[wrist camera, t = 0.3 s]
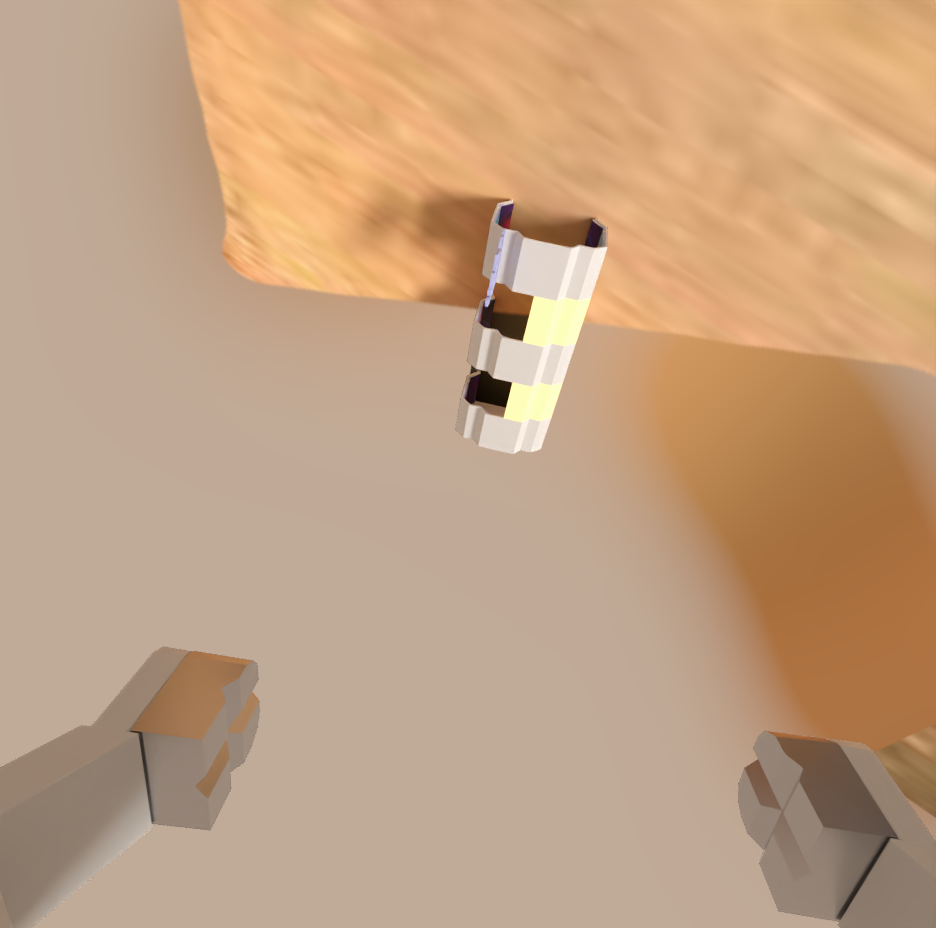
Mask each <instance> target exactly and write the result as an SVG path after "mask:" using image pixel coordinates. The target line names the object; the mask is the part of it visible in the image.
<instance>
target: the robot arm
mask: <svg viewBox="0 0 936 928" xmlns="http://www.w3.org/2000/svg"><path fill="white" fill-rule="evenodd" d="M257 681H258V666H257V663H256V662H254V661H252V660H246V659H240V658H234V657H228V656H221V655H216V654H210V653H204V652H198V651H187V650H181V649H175V648H169V647H162V648H160V649H158V650H156V651H155V652H153V653H152V654H151V656H150V657H149V658H148V659H147V660H146V662H145V663H144V664H143V665H142V666H141V667H140V669H139V670H138V671H137V672H136V673H135V675H134V676H133V677H132V678H131V680H130V681H129V682H128V683H127V684H126V685H125V687H124V688H123V689H122V690H121V691H120V693H119V694H118V695H117V696H116V697H115V699H114V700H113V701H112V702H111V703H110V704H109V706H108V707H107V708H106V709H105V711H104V712H103V713H102V714H101V715H100V716H99V718H98V719H97V720H96V721H95V722H94V724H93V725H92V726H82V725H81V726H79V727H77V728H75V729H73V730H71V731H69V732H67V733H65V734H64V735H62V736H60V737H58V738H56V739H54V740H52V741H50V742H48V743H46V744H44V745H43V746H40V747H39V748H37V749H35V750H33V751H31V752H29V753H27V754H25V755H23V756H21V757H19V758H17V759H15V760H14V761H12V762H10V763H8V764H6V765H4V766H2V767H0V928H32V927H34V926H35V925H36V924H37V923H38V922H40V921H41V920H42V919H43V918H44V917H46V916H47V915H48V914H49V913H50V912H52V911H53V910H54V909H55V908H56V907H58V906H59V905H60V904H61V903H62V902H63V901H65V900H66V899H67V898H68V897H70V896H71V895H72V894H73V893H74V892H76V891H77V890H78V889H79V888H80V887H82V886H83V885H84V884H85V883H86V882H88V881H89V880H90V879H91V878H93V877H94V876H95V875H96V874H97V873H99V872H100V871H101V870H102V869H103V868H104V867H106V866H107V865H108V864H109V863H111V862H112V861H113V860H114V859H115V858H116V857H118V856H119V855H120V854H121V853H122V852H124V851H125V850H126V849H127V848H128V847H130V846H131V845H132V844H133V843H135V842H136V841H137V840H138V839H139V838H141V837H142V836H143V835H144V834H145V833H146V832H148V831H149V830H150V829H151V828H152V824H158V825H167V826H176V827H185V828H195V829H203V830H211V828H212V826H213V824H214V822H215V820H216V818H217V816H218V814H219V812H220V810H221V808H222V806H223V804H224V802H225V800H226V798H227V796H228V794H229V792H230V790H231V775H230V772H231V771H233V770H234V769H236V768H237V767H239V766H240V765H241V764H243V763H244V762H245V759H246V757H247V755H248V753H249V751H250V749H251V747H252V743H253V740H254V737H255V734H256V731H257V727H258V720H259V712H260V709H259V700H258V698H257V697H256V696H255V695H254V693H253V692H252V691H253V689H254V687H255V685H256V683H257ZM753 749H754V751H755V753H756V756H757V758H758V760H756V761H755V762H753V763H751V764H750V765H748V766H747V767H745V768H744V770H743V773H742V776H741V778H740V781H739V790H738V791H739V792H738V803H739V808H740V813H741V817H742V820H743V822H744V825H745V828H746V831H747V833H748V834H749V835H750V836H751V837H752V838H753V839H754V840H755V841H756V843H757V844H758V845H759V846H760V847H761V848H762V849H763V853H762V856H761V860H760V863H759V864H760V866H761V869H762V871H763V874H764V876H765V879H766V881H767V884H768V886H769V889H770V891H771V894H772V896H773V899H774V901H775V904H776V906H777V909H778V911H780V912H785V913H791V914H797V915H803V916H809V917H814V918H820V919H826V920H832V921H838V922H839V924H838V926H839V927H840V928H936V840H935V839H934V838H933V836H932V835H931V833H930V832H929V830H928V829H927V828H926V826H925V825H924V823H923V822H922V820H921V819H920V818H919V816H918V815H917V813H916V812H915V810H914V809H913V808H912V806H911V805H910V803H909V802H908V800H907V799H906V798H905V796H904V795H903V793H902V792H901V790H900V789H899V788H898V786H897V785H896V783H895V782H894V780H893V779H892V778H891V776H890V775H889V773H888V772H887V770H886V769H885V768H884V766H883V765H882V763H881V762H880V760H879V759H878V758H877V756H876V755H875V753H874V752H873V751H872V750H871V749H870V748H869V747H867V746H866V745H865V744H863V743H858V742H850V741H842V740H834V739H828V740H827V739H824V738H818V737H810V736H802V735H794V734H786V733H778V732H771V731H764V732H763V733H762V734H760V735H759V736H758V738H757V740H756V742H755V745H754V747H753Z"/></svg>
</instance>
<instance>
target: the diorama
mask: <svg viewBox="0 0 936 928" xmlns="http://www.w3.org/2000/svg"><path fill="white" fill-rule="evenodd" d="M513 205H514V202H513V201H512V199H510V200H509V201H505V202H500V203H497V206H496V208H495V211H494V214H493V217H492V220H491V223H490V229H489V235H488V241H487V247H486V253H485V258H484V264H483V270H482V275H483V276H485V277H486V278H488V279H489V280H490V283H489V289H488V291H487V297H486V298H484V299H482V300H480V303H479V306H478V309H477V312H476V316H475V319H474V323H473V329H472V335H471V340H470V347H469V352H468V358H467V362H469V363H470V364H471V371H470V375H468V376H467V378H466V382H465V385H464V388H463V391H462V395H461V399H460V405H459V410H458V416H457V422H456V428H455V430H456V431H457V432H458V433H459V434H460V435H462V436H463V437H465V438H470V439H473V440H474V441H475V442H476V444H477V445H478V446H480V447H485V448H489V449H493V450H498V451H502V452H507V453H511V454H514V453H516V452H518V451H519V450H522V451H527V452H533V451H536V450H539V449H541V447H542V444H543V440H544V437H545V434H546V431H547V428H548V425H549V422H550V419H551V416H552V413H553V410H554V407H555V404H556V401H557V398H558V395H559V392H560V389H561V386H562V383H563V380H564V377H565V374H566V371H567V368H568V365H569V362H570V359H571V356H572V353H573V350H574V347H575V344H576V341H577V338H578V335H579V332H580V329H581V326H582V323H583V320H584V317H585V314H586V311H587V308H588V305H589V302H590V299H591V296H592V293H593V290H594V287H595V284H596V281H597V278H598V275H599V272H600V269H601V266H602V263H603V260H604V257H605V254H606V250H607V247H608V227H607V226H605V225H604V224H603V223H601V222H600V221H599V220H597V218H595V219H592V223H591V226H590V229H589V233H588V236H587V239H586V243H585V246H584V245H580V244H578V245H576V246H574V247H573V246H572V247H568V246H562V245H557V244H553V243H548V242H544V241H539V240H534V239H530V238H527V237H524V236H523V235H521V233H520V232H519V231H516V230H510V229H509V225H510V220H511V215H512V210H513ZM495 283H500V284H505V285H506V286H507V287H508V288H509V289H510V290H511V291H513V292H518V293H522V294H527V295H531V296H534V299H533V303H532V307H531V311H530V315H527V314H515V313H506V312H496V311H493V307H494V302H495V296H494V295H492V294H493V290H494V286H495ZM491 295H492V296H491Z"/></svg>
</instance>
